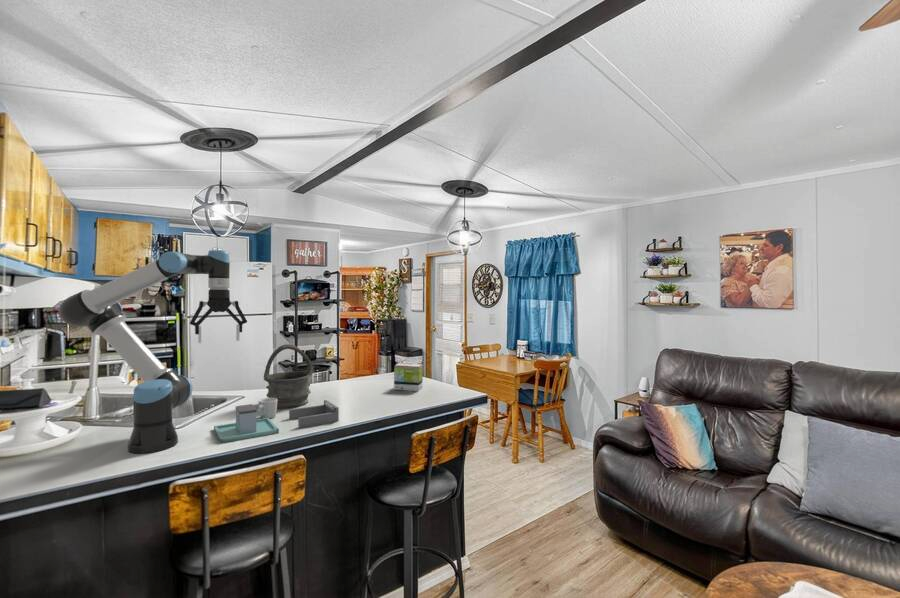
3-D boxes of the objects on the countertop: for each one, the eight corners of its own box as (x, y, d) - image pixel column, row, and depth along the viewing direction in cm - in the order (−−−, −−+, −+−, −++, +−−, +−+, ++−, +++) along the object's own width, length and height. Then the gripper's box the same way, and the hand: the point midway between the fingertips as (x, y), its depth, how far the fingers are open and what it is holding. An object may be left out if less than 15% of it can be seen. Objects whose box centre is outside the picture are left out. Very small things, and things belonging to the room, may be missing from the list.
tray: (220, 443, 160) (220, 439, 160) (214, 429, 175) (214, 426, 175) (278, 432, 172) (278, 429, 172) (268, 421, 187) (268, 417, 187)
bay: (299, 428, 178) (299, 413, 178) (289, 418, 191) (289, 405, 191) (338, 421, 188) (338, 407, 188) (326, 412, 201) (326, 400, 200)
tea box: (393, 390, 247) (393, 365, 246) (398, 386, 256) (398, 362, 256) (418, 391, 244) (419, 365, 244) (422, 387, 254) (423, 363, 254)
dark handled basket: (273, 398, 227) (273, 342, 227) (317, 397, 228) (317, 342, 228) (256, 409, 205) (256, 347, 205) (305, 409, 206) (305, 347, 206)
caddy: (239, 434, 167) (239, 412, 167) (235, 427, 176) (235, 406, 176) (256, 431, 171) (256, 409, 171) (251, 425, 179) (251, 404, 179)
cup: (266, 422, 185) (266, 404, 185) (250, 421, 187) (250, 403, 187) (281, 415, 196) (281, 398, 196) (265, 414, 197) (265, 397, 197)
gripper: (183, 288, 161) (183, 344, 161) (254, 289, 175) (254, 340, 176) (182, 288, 167) (182, 342, 168) (251, 289, 182) (251, 338, 182)
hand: (219, 341), depth 172 cm, fingers open, 13 cm apart
